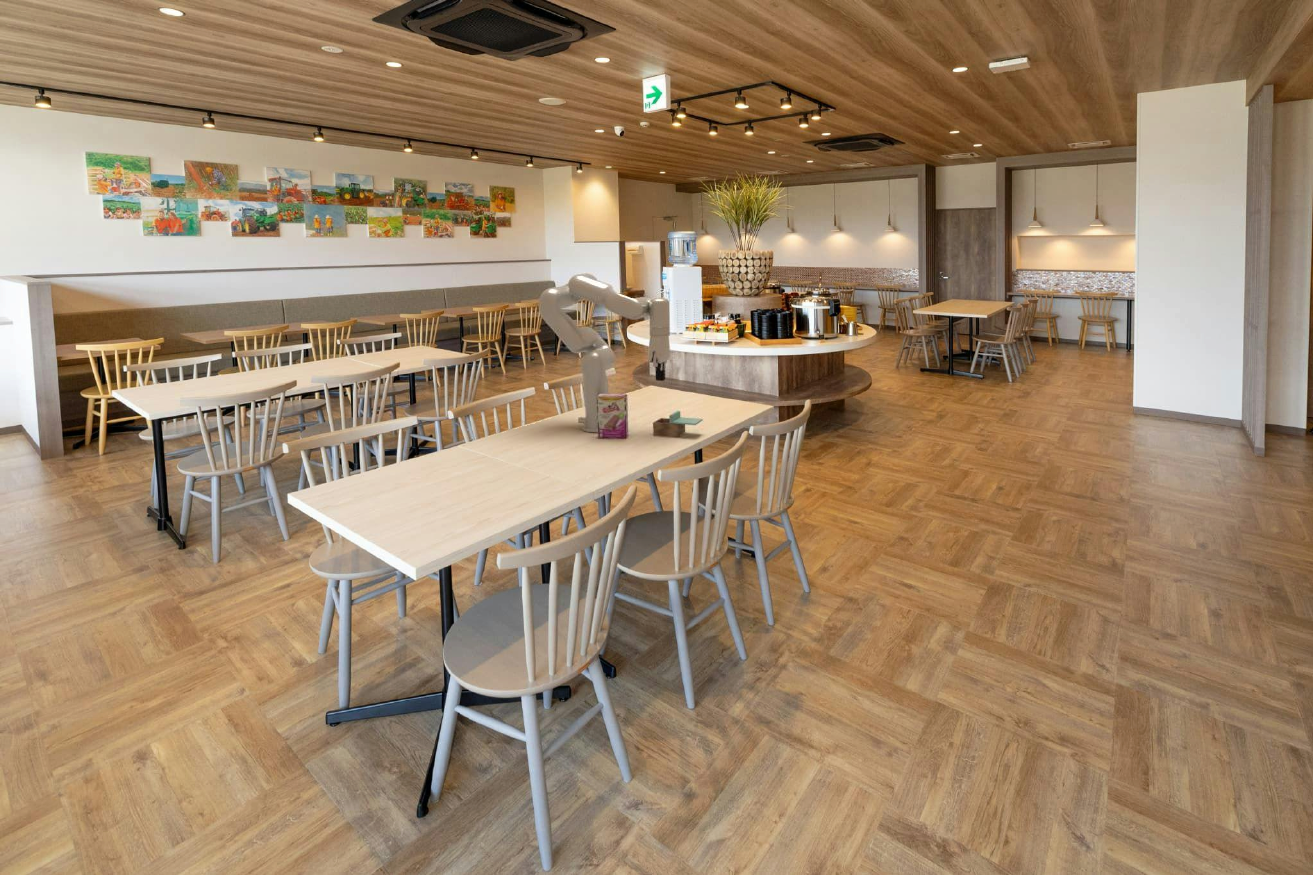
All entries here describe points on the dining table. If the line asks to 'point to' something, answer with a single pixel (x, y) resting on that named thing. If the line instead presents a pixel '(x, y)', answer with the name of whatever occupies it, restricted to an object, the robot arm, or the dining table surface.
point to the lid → (683, 419)
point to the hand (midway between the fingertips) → (660, 380)
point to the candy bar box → (612, 415)
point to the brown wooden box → (667, 428)
